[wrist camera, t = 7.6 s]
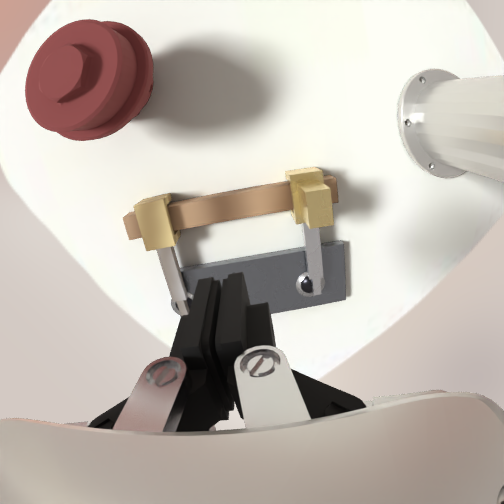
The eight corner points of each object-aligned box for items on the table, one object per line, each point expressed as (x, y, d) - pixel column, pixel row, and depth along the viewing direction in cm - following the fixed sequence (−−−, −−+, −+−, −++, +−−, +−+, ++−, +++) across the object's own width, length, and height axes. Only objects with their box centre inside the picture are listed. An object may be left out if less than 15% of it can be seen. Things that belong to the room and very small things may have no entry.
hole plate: (340, 240, 32) (344, 244, 31) (343, 295, 35) (346, 300, 34) (163, 270, 33) (161, 275, 32) (180, 322, 35) (179, 327, 34)
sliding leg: (314, 166, 29) (335, 177, 22) (326, 282, 34) (343, 317, 27) (284, 170, 29) (297, 182, 22) (300, 287, 34) (312, 323, 27)
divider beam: (329, 164, 29) (338, 168, 26) (338, 279, 34) (347, 293, 31) (126, 202, 30) (115, 210, 27) (160, 308, 35) (154, 324, 32)
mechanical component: (162, 141, 27) (77, 133, 26) (182, 45, 24) (94, 45, 23) (112, 150, 16) (1, 144, 15) (146, -2, 12) (26, 16, 11)
